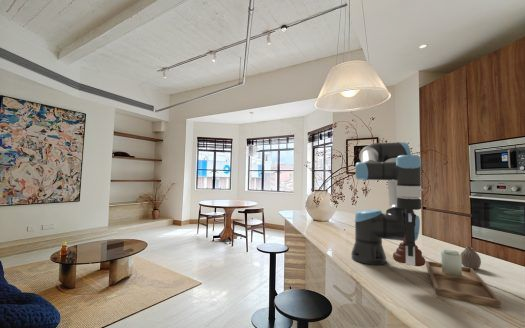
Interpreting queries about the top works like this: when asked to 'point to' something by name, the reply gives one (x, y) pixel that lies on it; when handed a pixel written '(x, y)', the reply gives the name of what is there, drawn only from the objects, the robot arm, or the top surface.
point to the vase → (470, 258)
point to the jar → (451, 263)
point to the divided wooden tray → (461, 285)
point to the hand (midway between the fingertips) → (409, 260)
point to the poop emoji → (401, 254)
